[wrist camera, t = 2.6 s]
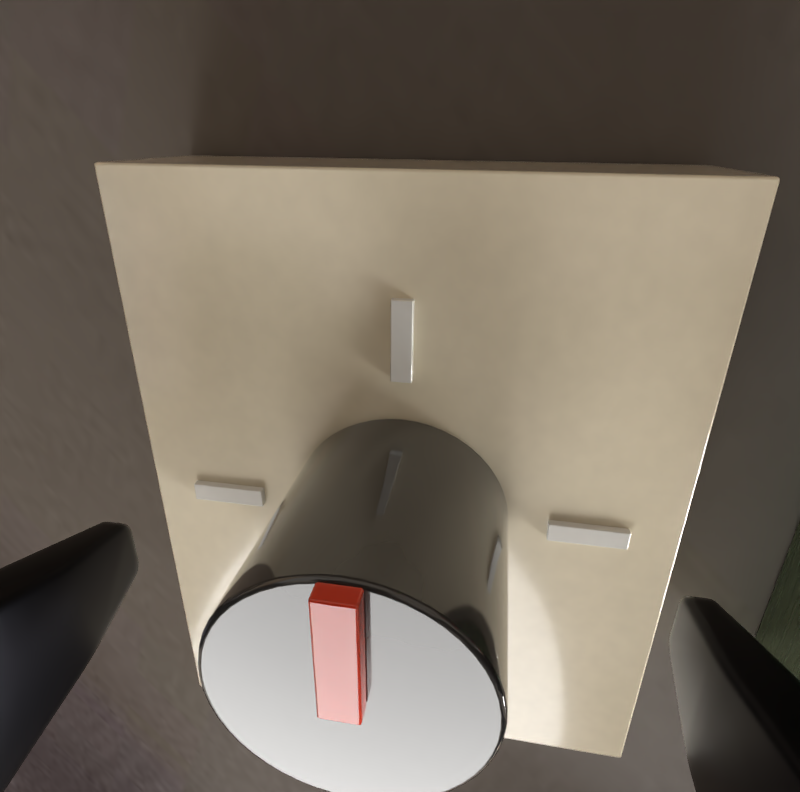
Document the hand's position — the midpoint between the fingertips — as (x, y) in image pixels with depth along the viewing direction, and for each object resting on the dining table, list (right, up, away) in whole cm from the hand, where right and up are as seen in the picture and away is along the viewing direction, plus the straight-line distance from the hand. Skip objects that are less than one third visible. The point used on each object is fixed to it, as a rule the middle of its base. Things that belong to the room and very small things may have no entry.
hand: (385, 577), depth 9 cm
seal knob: (0, +1, +1) cm, 2 cm away
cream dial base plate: (+1, +2, +4) cm, 5 cm away
